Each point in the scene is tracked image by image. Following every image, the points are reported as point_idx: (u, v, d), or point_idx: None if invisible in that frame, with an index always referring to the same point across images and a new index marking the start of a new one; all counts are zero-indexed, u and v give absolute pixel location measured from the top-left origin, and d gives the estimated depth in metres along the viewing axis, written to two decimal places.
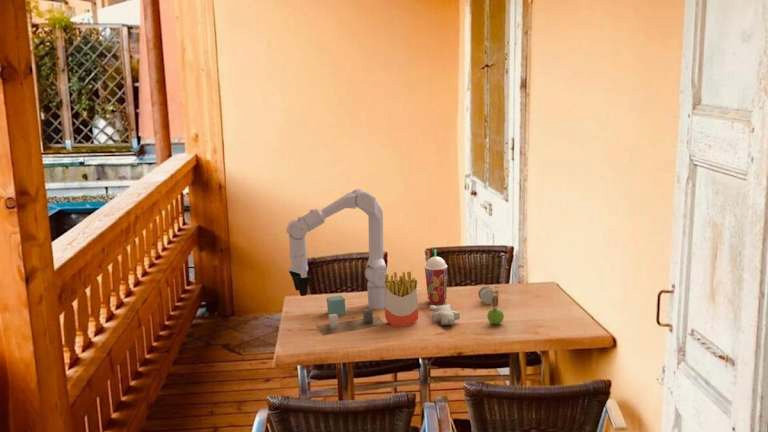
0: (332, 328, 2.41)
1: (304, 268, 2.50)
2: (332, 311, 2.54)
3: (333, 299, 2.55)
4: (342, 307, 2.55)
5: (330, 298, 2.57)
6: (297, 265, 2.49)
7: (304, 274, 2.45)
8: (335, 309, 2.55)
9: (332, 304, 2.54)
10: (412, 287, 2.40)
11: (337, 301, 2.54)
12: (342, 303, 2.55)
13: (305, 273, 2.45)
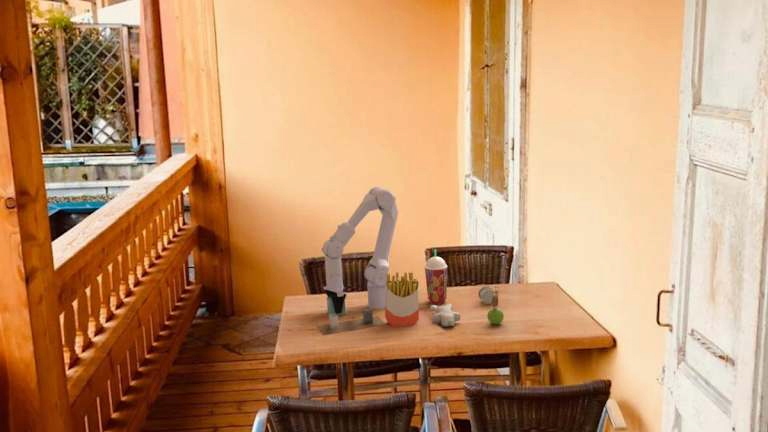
0: (332, 328, 2.41)
1: (340, 287, 2.54)
2: (332, 311, 2.54)
3: None
4: None
5: (330, 298, 2.57)
6: (333, 284, 2.53)
7: (340, 293, 2.49)
8: None
9: (332, 304, 2.54)
10: (413, 288, 2.40)
11: None
12: None
13: (341, 292, 2.49)
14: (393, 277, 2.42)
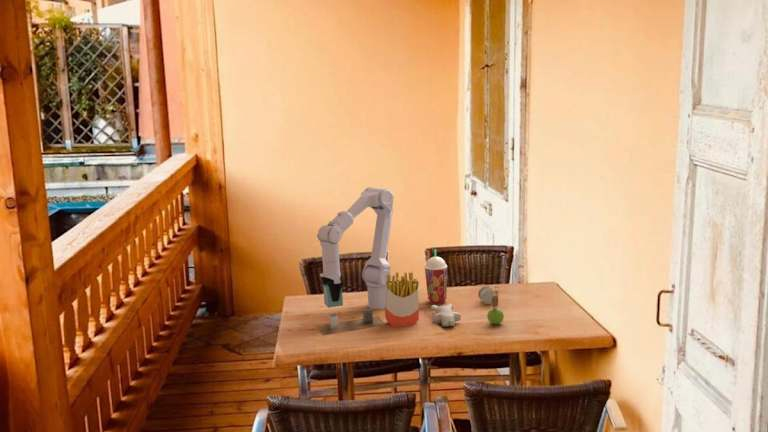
0: (332, 328, 2.41)
1: (337, 274, 2.44)
2: (329, 299, 2.45)
3: None
4: None
5: (327, 286, 2.47)
6: (329, 270, 2.43)
7: (337, 280, 2.40)
8: None
9: (329, 292, 2.44)
10: (413, 288, 2.40)
11: None
12: None
13: (338, 279, 2.40)
14: (393, 277, 2.42)
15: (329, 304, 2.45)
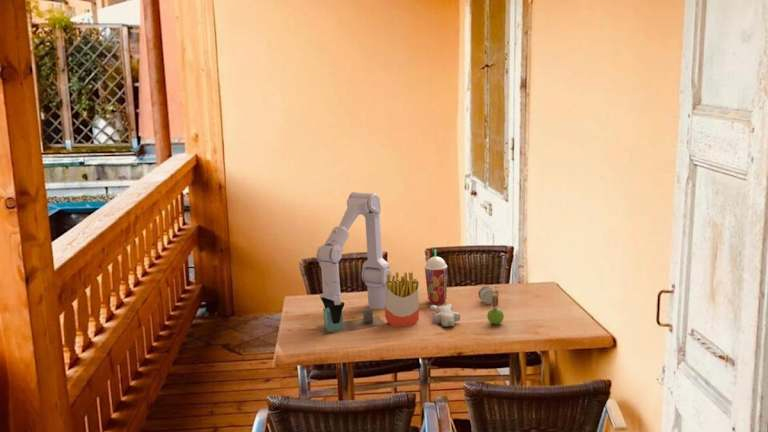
0: None
1: (337, 294, 2.38)
2: (329, 323, 2.39)
3: None
4: None
5: (327, 309, 2.41)
6: (329, 291, 2.37)
7: (338, 301, 2.33)
8: (332, 321, 2.39)
9: (329, 316, 2.38)
10: (413, 288, 2.40)
11: None
12: None
13: (339, 300, 2.34)
14: (393, 277, 2.42)
15: (329, 328, 2.39)
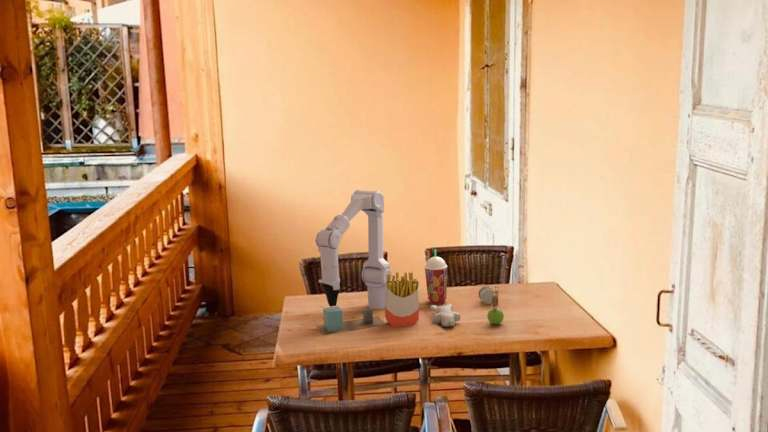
0: None
1: (336, 280, 2.37)
2: (329, 323, 2.39)
3: (330, 310, 2.40)
4: (339, 319, 2.40)
5: (327, 309, 2.41)
6: (328, 276, 2.36)
7: (337, 286, 2.33)
8: (332, 321, 2.39)
9: (329, 316, 2.38)
10: (413, 288, 2.40)
11: (334, 312, 2.39)
12: (339, 315, 2.39)
13: (338, 285, 2.33)
14: (393, 277, 2.42)
15: (329, 328, 2.39)
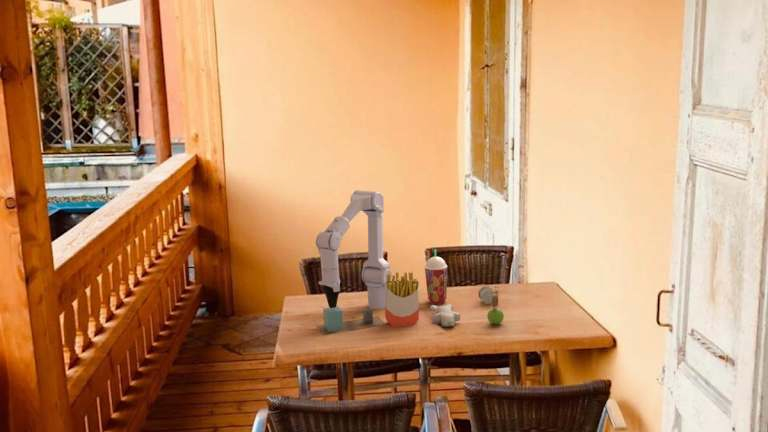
0: None
1: (336, 282, 2.37)
2: (329, 323, 2.39)
3: (330, 310, 2.40)
4: (339, 319, 2.40)
5: (327, 309, 2.41)
6: (329, 278, 2.36)
7: (337, 288, 2.33)
8: (332, 321, 2.39)
9: (329, 316, 2.38)
10: (413, 288, 2.40)
11: (334, 312, 2.39)
12: (339, 315, 2.39)
13: (338, 287, 2.33)
14: (393, 277, 2.42)
15: (329, 328, 2.39)
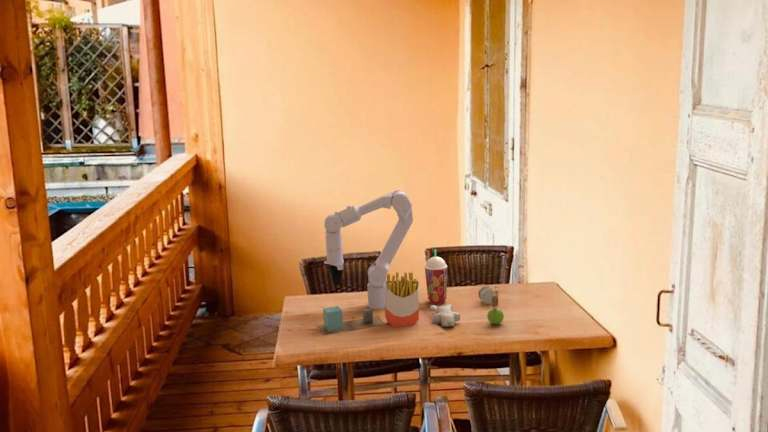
0: None
1: (340, 261, 2.58)
2: (329, 323, 2.39)
3: (330, 310, 2.40)
4: (339, 319, 2.40)
5: (327, 309, 2.41)
6: (333, 258, 2.57)
7: (341, 267, 2.53)
8: (332, 321, 2.39)
9: (329, 316, 2.38)
10: (413, 288, 2.40)
11: (334, 312, 2.39)
12: (339, 315, 2.39)
13: (342, 266, 2.53)
14: (393, 277, 2.42)
15: (329, 328, 2.39)
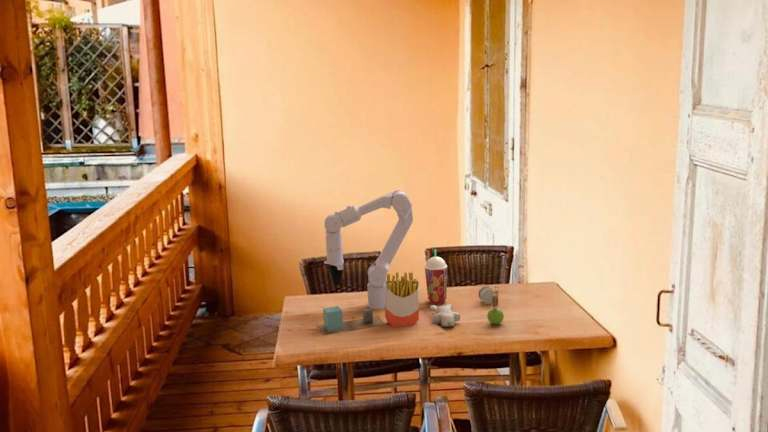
0: None
1: (340, 261, 2.58)
2: (329, 323, 2.39)
3: (330, 310, 2.40)
4: (339, 319, 2.40)
5: (327, 309, 2.41)
6: (333, 258, 2.57)
7: (341, 267, 2.53)
8: (332, 321, 2.39)
9: (329, 316, 2.38)
10: (413, 288, 2.40)
11: (334, 312, 2.39)
12: (339, 315, 2.39)
13: (342, 266, 2.53)
14: (393, 277, 2.42)
15: (329, 328, 2.39)
